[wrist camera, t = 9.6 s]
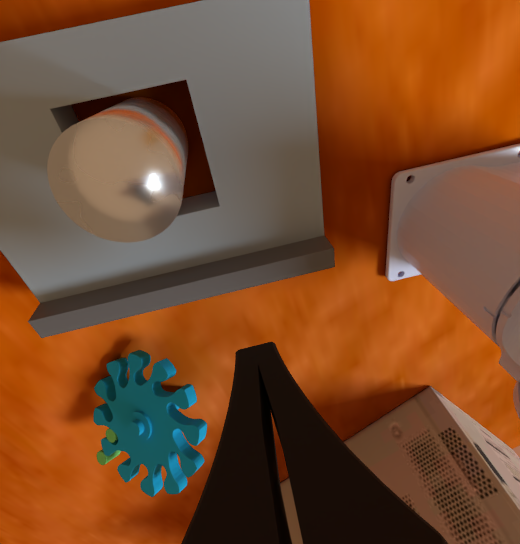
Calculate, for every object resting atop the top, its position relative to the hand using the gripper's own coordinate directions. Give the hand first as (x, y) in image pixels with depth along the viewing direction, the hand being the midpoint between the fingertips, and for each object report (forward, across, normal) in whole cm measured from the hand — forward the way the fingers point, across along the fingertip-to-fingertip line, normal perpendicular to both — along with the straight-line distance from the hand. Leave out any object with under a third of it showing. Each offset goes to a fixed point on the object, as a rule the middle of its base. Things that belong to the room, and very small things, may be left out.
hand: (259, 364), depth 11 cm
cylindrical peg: (+10, +3, -6) cm, 12 cm away
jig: (+10, +3, -5) cm, 11 cm away
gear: (+10, +10, +11) cm, 18 cm away
